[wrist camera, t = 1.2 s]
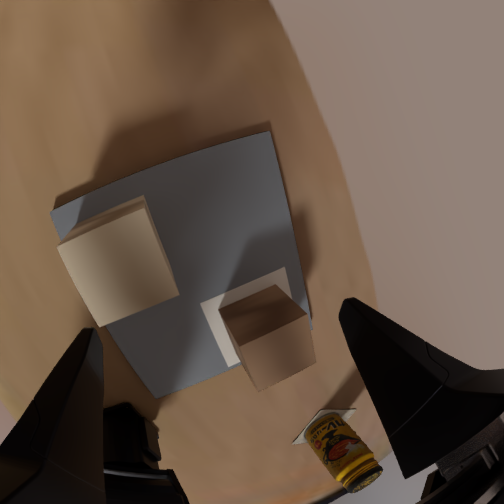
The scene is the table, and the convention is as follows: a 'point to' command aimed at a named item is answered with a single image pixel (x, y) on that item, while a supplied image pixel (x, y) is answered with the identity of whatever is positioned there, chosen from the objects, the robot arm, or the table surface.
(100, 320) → the birch block
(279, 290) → the walnut block
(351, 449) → the condiment
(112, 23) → the table surface
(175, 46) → the table surface
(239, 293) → the grey base plate
